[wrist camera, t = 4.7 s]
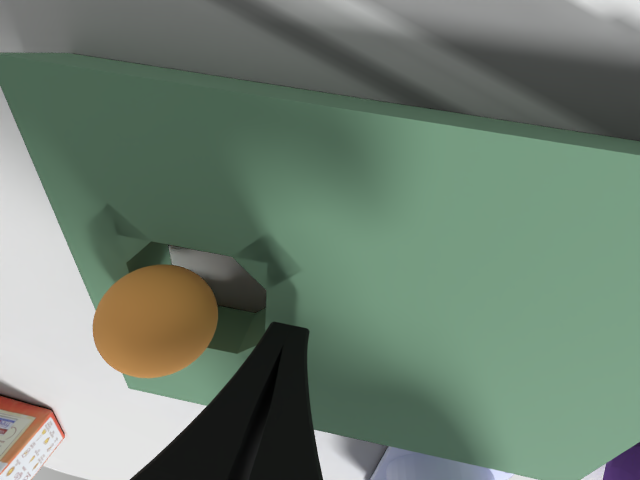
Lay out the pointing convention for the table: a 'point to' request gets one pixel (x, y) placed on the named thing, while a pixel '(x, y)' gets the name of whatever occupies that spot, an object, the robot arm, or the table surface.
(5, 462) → the cracker box
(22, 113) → the putting mat
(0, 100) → the table surface
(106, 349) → the ball
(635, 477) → the kendama
